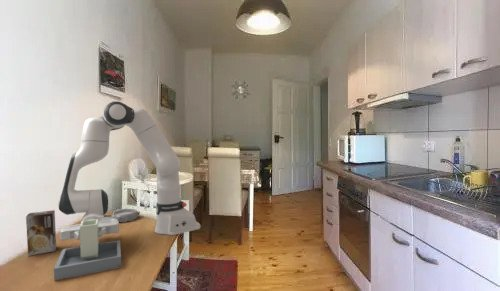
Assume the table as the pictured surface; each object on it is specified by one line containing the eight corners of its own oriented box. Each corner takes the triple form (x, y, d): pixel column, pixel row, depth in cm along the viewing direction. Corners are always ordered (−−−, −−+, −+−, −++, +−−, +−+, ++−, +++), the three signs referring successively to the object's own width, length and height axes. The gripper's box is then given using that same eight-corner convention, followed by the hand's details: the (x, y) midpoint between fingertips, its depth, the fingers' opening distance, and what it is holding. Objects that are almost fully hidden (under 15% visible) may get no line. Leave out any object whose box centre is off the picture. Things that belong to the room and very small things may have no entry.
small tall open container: (98, 249, 109) (98, 219, 109) (97, 256, 103) (97, 224, 102) (82, 252, 107) (81, 221, 106) (80, 259, 100) (80, 226, 100)
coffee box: (57, 246, 122) (55, 209, 121) (54, 251, 116) (53, 213, 115) (30, 250, 117) (29, 212, 117) (27, 256, 112) (25, 216, 111)
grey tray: (120, 249, 117) (119, 240, 117) (121, 267, 101) (121, 256, 101) (63, 259, 108) (62, 249, 108) (54, 280, 92) (53, 268, 92)
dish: (119, 225, 151) (118, 216, 151) (106, 220, 159) (106, 212, 159) (143, 218, 162) (143, 210, 162) (131, 214, 171) (130, 206, 171)
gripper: (62, 221, 112) (55, 231, 99) (118, 214, 121) (119, 223, 108) (62, 237, 112) (56, 249, 100) (118, 229, 121) (119, 239, 109)
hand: (89, 235), depth 104 cm, fingers closed on small tall open container, 5 cm apart
